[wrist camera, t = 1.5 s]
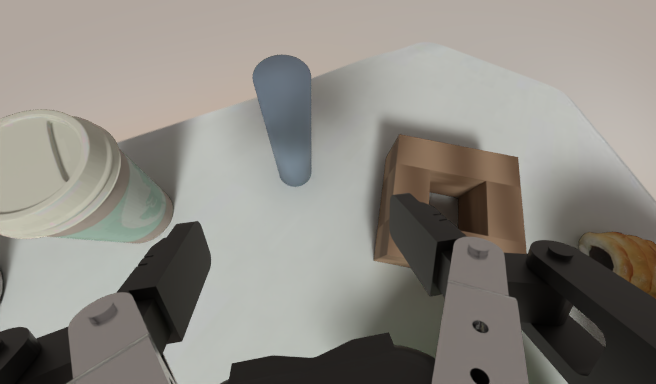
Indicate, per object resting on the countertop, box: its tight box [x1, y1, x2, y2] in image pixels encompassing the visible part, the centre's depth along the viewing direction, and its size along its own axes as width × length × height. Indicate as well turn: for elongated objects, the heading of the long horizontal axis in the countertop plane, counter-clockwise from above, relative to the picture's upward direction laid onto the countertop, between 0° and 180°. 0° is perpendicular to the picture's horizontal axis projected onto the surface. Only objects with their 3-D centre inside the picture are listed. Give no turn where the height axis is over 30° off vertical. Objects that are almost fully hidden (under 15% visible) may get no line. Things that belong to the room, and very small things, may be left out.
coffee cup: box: [0, 110, 173, 243], centre depth 21 cm, size 8×8×12 cm
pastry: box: [578, 232, 656, 299], centre depth 26 cm, size 9×7×4 cm
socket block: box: [374, 134, 527, 268], centre depth 26 cm, size 12×12×5 cm
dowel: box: [253, 55, 311, 187], centre depth 23 cm, size 4×4×14 cm
